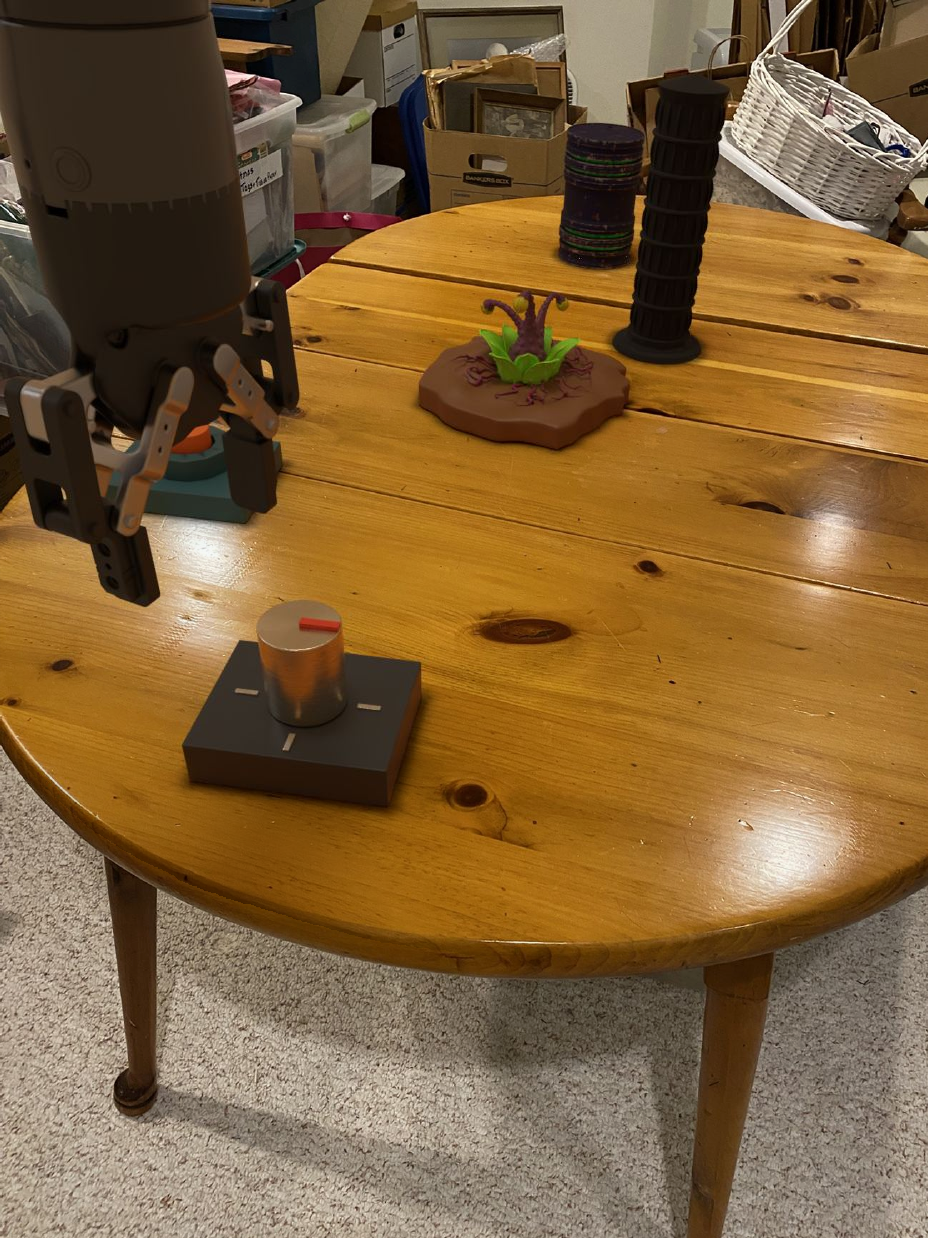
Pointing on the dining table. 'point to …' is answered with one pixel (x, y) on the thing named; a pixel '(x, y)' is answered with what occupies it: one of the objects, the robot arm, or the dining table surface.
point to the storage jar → (600, 194)
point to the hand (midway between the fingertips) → (199, 550)
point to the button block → (194, 484)
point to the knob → (303, 662)
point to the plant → (524, 381)
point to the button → (194, 442)
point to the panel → (307, 733)
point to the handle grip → (674, 220)
